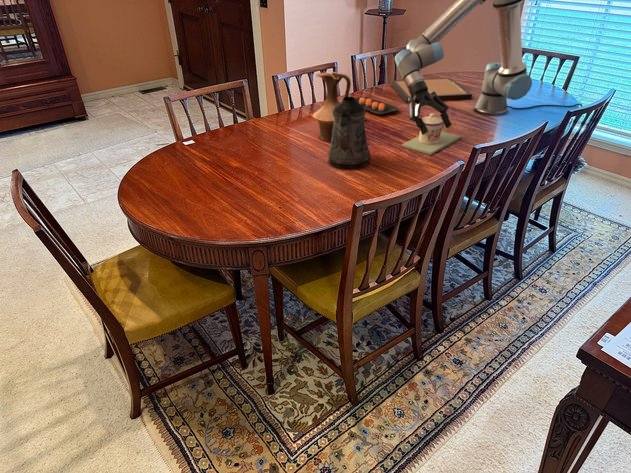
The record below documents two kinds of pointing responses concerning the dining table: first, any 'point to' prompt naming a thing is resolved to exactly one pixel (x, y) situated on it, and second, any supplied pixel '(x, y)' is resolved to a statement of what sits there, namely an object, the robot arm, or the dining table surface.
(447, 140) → the mat
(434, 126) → the teacup with lid
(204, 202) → the dining table surface
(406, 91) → the cork board
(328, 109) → the pitcher
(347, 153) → the beer stein
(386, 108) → the sushi plate
